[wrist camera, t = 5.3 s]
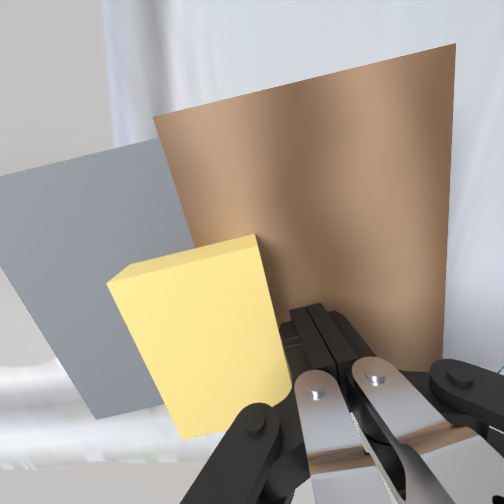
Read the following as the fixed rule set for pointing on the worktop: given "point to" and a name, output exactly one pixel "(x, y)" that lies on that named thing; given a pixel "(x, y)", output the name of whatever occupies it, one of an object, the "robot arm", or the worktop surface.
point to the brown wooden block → (334, 193)
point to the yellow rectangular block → (205, 332)
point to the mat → (91, 260)
